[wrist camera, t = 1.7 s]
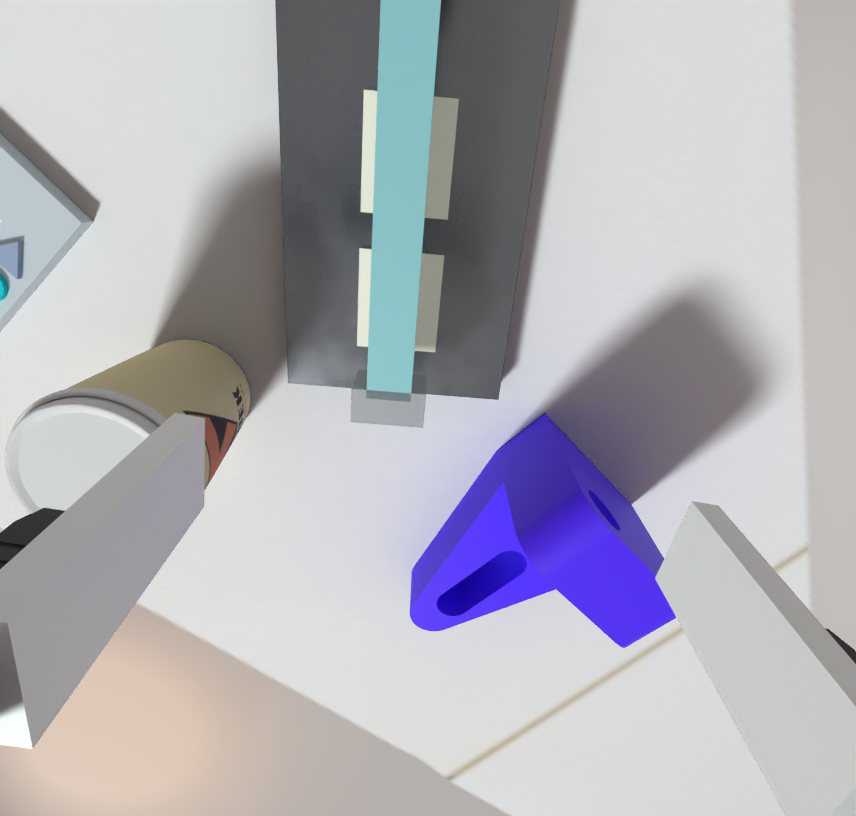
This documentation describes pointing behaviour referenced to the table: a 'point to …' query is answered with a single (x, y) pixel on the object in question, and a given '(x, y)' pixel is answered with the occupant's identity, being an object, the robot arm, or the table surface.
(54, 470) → the coffee cup
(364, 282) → the label
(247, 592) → the table surface
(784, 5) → the table surface
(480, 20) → the plate
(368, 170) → the label
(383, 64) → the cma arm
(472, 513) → the bracket
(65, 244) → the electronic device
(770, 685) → the robot arm
